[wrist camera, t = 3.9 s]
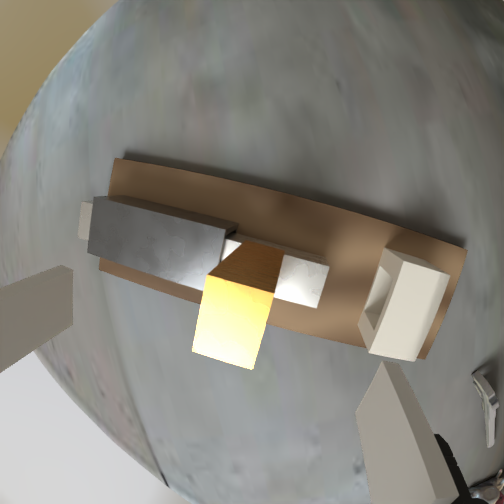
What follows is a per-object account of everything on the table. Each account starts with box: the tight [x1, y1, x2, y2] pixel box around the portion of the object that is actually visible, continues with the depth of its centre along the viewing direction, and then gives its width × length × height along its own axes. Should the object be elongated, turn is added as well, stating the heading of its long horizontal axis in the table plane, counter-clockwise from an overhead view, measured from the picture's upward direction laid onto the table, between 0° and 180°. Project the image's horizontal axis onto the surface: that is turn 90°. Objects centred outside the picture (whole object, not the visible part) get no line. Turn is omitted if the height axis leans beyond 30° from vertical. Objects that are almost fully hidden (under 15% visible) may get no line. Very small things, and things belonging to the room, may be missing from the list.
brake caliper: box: [469, 469, 504, 504], centre depth 27 cm, size 11×11×12 cm
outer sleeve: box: [87, 195, 239, 291], centre depth 25 cm, size 5×12×5 cm, turn 76°
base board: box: [99, 158, 468, 359], centre depth 28 cm, size 12×36×2 cm, turn 76°
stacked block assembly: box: [78, 200, 330, 369], centre depth 20 cm, size 4×22×13 cm, turn 77°
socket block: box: [357, 248, 450, 362], centre depth 23 cm, size 8×4×6 cm, turn 167°
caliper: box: [472, 370, 499, 448], centre depth 25 cm, size 20×1×6 cm, turn 35°
